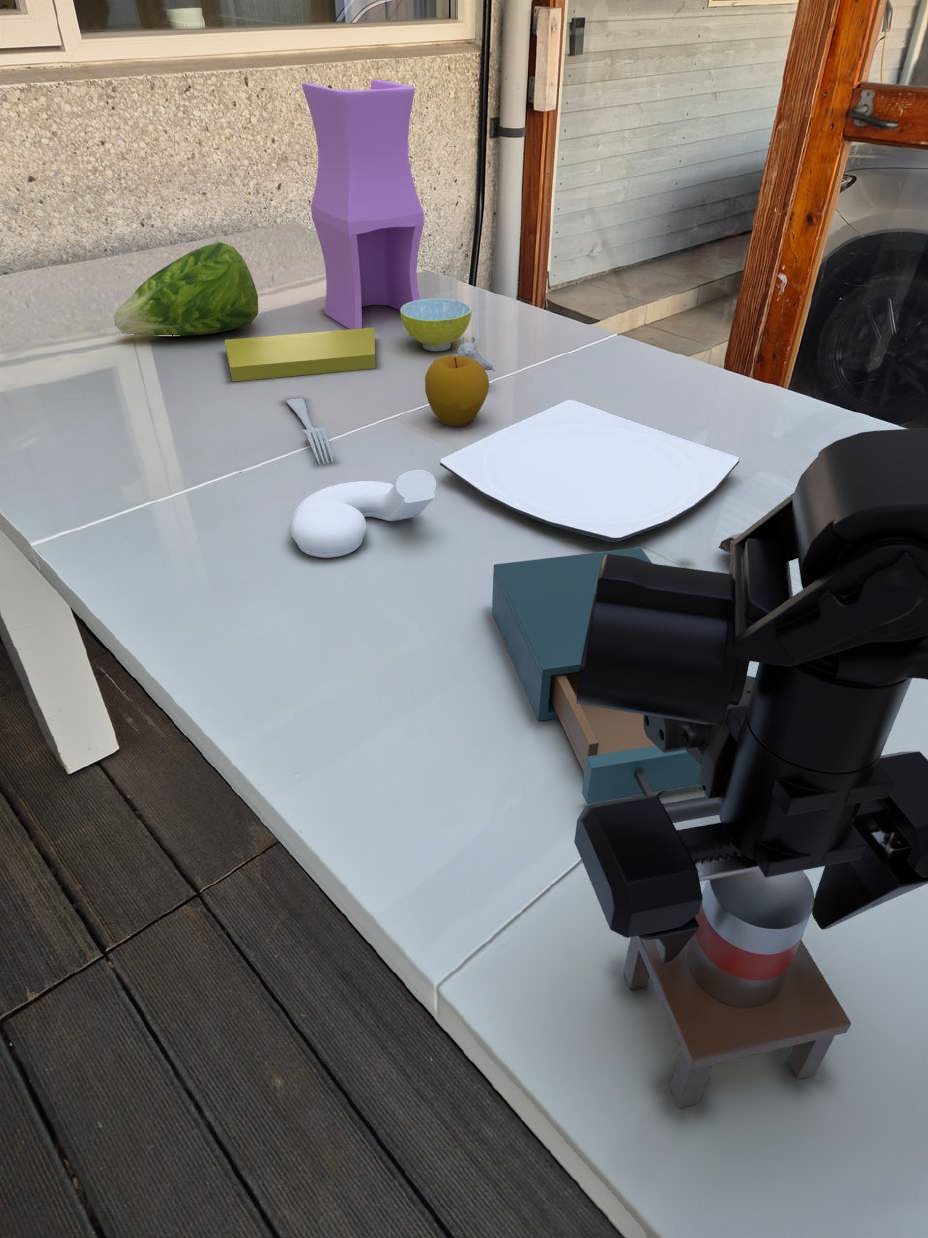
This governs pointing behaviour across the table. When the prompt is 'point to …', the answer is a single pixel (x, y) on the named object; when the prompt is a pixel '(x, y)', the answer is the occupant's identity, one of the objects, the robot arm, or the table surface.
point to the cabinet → (547, 617)
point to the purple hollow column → (365, 198)
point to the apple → (456, 389)
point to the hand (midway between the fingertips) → (742, 938)
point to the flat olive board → (301, 354)
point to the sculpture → (357, 511)
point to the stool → (738, 1017)
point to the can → (749, 935)
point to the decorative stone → (728, 543)
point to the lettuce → (193, 296)
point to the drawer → (624, 755)
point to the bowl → (436, 321)
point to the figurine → (473, 353)
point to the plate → (591, 471)
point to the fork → (311, 429)
